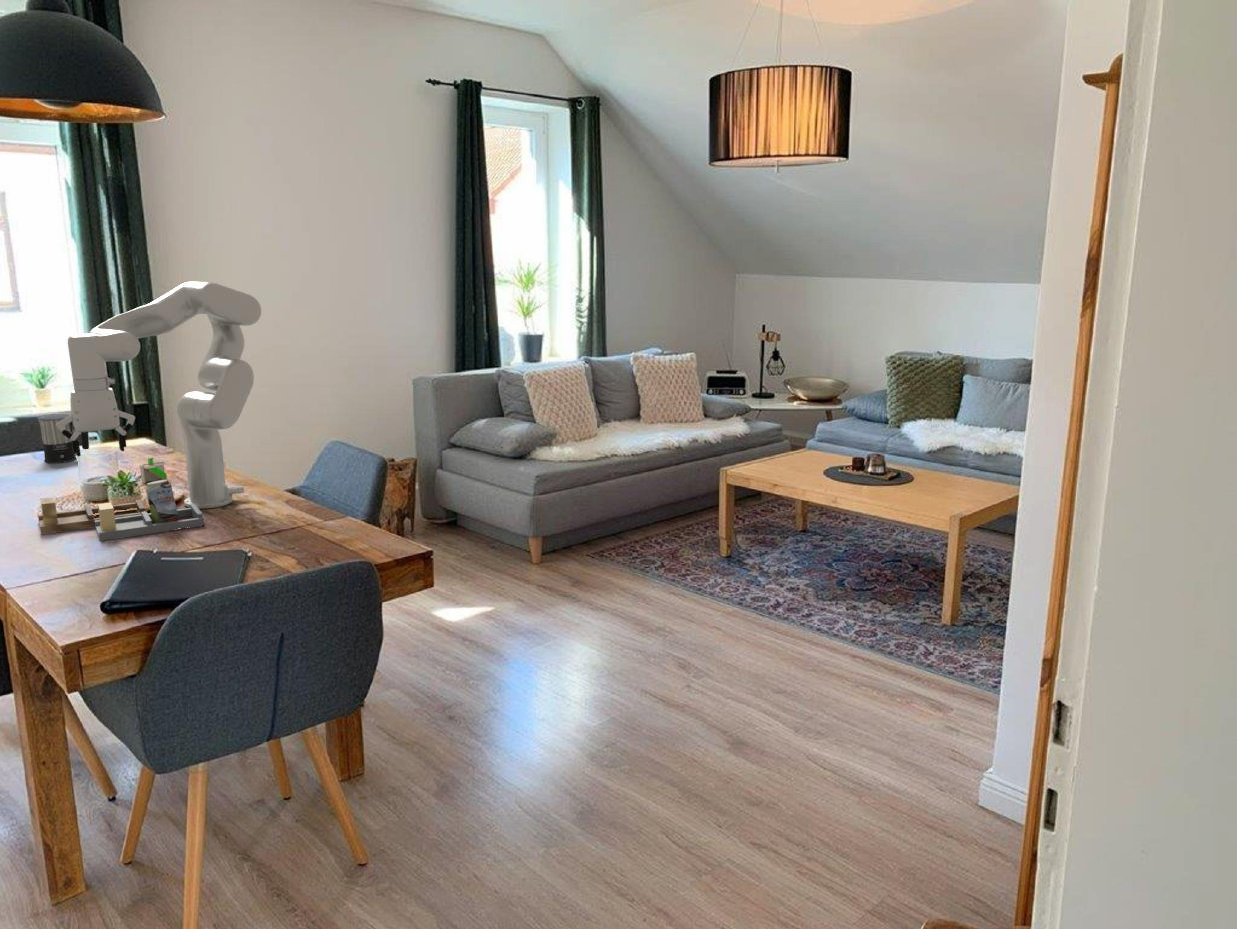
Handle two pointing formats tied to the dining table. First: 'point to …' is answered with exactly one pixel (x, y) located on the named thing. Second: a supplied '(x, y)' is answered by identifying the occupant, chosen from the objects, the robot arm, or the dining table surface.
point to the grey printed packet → (161, 501)
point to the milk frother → (58, 439)
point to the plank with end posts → (75, 516)
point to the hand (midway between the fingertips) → (100, 452)
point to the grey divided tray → (140, 522)
